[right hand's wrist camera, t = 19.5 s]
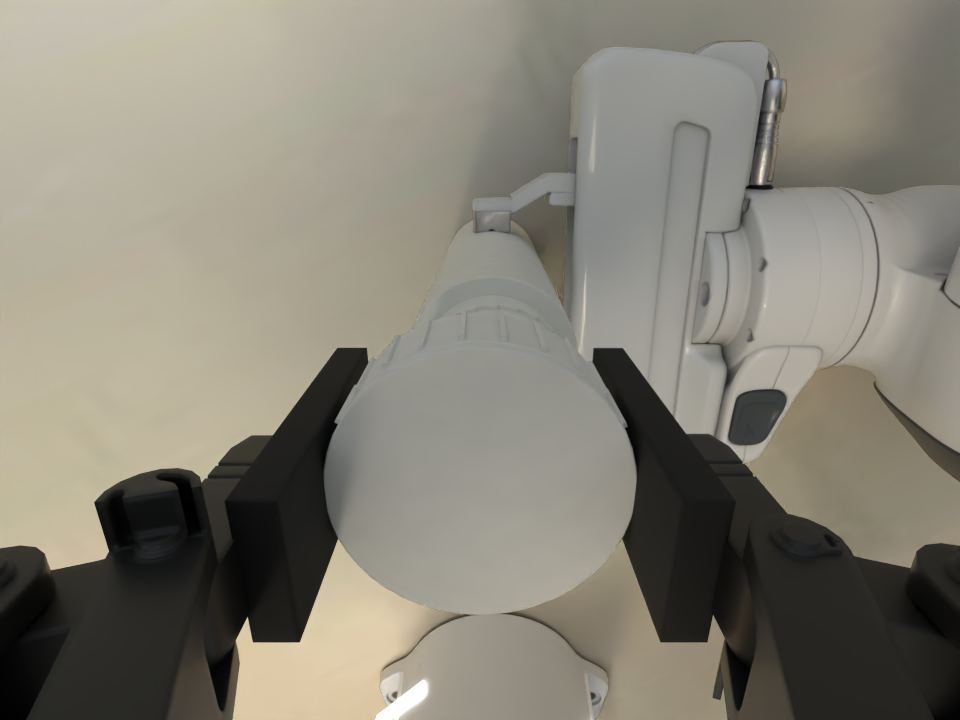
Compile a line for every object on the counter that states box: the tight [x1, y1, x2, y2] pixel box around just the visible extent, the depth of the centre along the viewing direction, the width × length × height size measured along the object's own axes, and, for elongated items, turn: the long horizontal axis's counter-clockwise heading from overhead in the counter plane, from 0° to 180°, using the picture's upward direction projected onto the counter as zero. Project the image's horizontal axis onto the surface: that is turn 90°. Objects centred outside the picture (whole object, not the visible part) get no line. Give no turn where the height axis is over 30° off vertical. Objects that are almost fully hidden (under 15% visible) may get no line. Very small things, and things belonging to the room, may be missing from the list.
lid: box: [324, 311, 637, 615], centre depth 11 cm, size 6×6×2 cm
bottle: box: [412, 220, 578, 351], centre depth 24 cm, size 5×5×19 cm
